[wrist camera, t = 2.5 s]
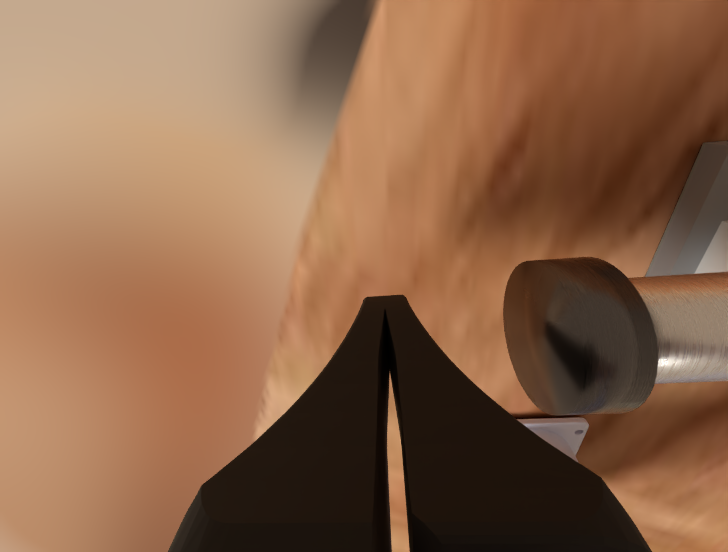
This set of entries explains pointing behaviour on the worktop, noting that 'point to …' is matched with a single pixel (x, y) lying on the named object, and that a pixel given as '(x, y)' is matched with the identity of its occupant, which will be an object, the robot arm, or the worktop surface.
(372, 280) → the worktop surface
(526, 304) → the shaft
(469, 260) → the worktop surface
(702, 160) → the shaft stand
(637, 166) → the worktop surface
